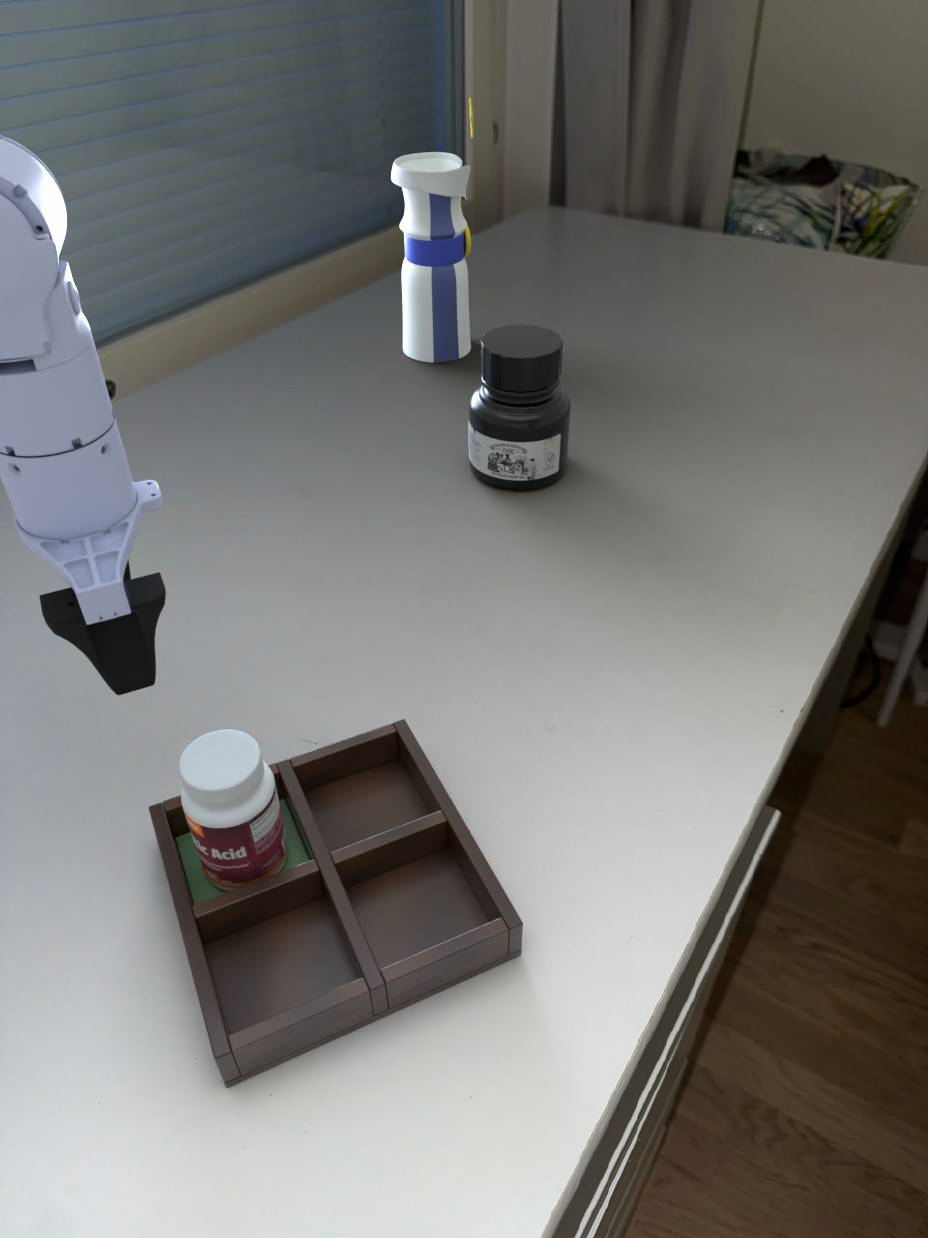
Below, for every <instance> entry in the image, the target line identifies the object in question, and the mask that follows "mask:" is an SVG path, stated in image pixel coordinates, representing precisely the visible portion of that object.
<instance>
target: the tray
mask: <svg viewBox="0 0 928 1238" xmlns="http://www.w3.org/2000/svg"><path fill="white" fill-rule="evenodd" d="M267 765H268V766H269V768H270V769H271V771H272V773H273V775H274V778H275V784H276V789H277V794H278V799H279V803H280V809H281V813H282V818H283V823H284V828H285V832H286V837H287V842H288V856H287V860H286V863H285V865H284V867H283V868H282V870H281V871H280V872H279V873H277V874H274V875H271V876H269V877H266V878H264V879H261V880H258V881H256V882H253V883H251V884H248V885H245V886H243V887H240V888H238V889H235V890H232V891H230V892H228V891H225V890H222V889H220V888H218V887H216V886H214V885H213V884H212V883H211V882H210V881H209V880H208V879H207V877H206V876H205V874H204V871H203V869H202V866H201V863H200V860H199V857H198V854H197V851H196V847H195V845H194V842H193V839H192V835H191V832H190V828H189V826H188V823H187V820H186V816H185V813H184V810H183V807H182V802H181V794H180V795H177V796H175V797H171V798H169V799H165V800H163V801H161V802H157V803H155V804H152V805H149V806H148V812H149V814H150V819H151V823H152V827H153V831H154V834H155V838H156V843H157V846H158V849H159V853H160V854H159V855H160V857H161V860H162V861H161V862H162V866H163V868H164V869H163V870H164V873H165V876H166V881H167V883H168V884H167V885H168V888H169V893H170V896H171V900H172V904H173V907H174V911H175V915H176V920H177V922H178V923H177V924H178V927H179V931H180V934H181V938H182V942H183V946H184V949H185V953H186V957H187V961H188V965H189V968H190V972H191V976H192V980H193V984H194V988H195V992H196V996H197V999H198V1003H199V1007H200V1010H201V1011H200V1012H201V1014H202V1018H203V1021H204V1026H205V1031H206V1034H207V1037H208V1041H209V1045H210V1048H211V1053H212V1057H213V1059H214V1062H215V1065H216V1067H217V1069H218V1072H219V1074H220V1077H221V1080H222V1081H223V1084H224V1087H225V1088H227V1089H228V1088H231V1087H232V1086H234V1085H237V1084H238V1083H241V1082H243V1081H245V1080H248V1079H250V1078H253V1077H255V1076H256V1075H259V1074H261V1073H264V1072H265V1071H267V1070H270V1069H272V1068H274V1067H277V1066H279V1065H280V1064H284V1063H285V1062H287V1061H289V1060H290V1061H291V1060H292V1059H294V1058H296V1057H299V1056H300V1055H302V1054H305V1053H307V1052H310V1051H312V1050H314V1049H316V1048H318V1047H320V1046H322V1045H325V1044H327V1043H329V1042H332V1041H334V1040H336V1039H338V1038H340V1037H343V1036H345V1035H347V1034H350V1033H351V1032H354V1031H356V1030H358V1029H360V1028H362V1027H364V1026H367V1025H369V1024H371V1023H373V1022H376V1021H378V1020H380V1019H382V1018H385V1017H387V1016H389V1015H391V1014H393V1013H396V1012H398V1011H400V1010H403V1009H404V1008H407V1007H409V1006H411V1005H414V1004H416V1003H418V1002H420V1001H422V1000H425V999H426V998H429V997H431V996H434V995H436V994H437V993H439V992H440V993H441V992H442V991H444V990H446V989H448V988H451V987H453V986H456V985H457V984H459V983H463V982H464V981H466V980H468V979H470V978H473V977H475V976H477V975H480V974H482V973H484V972H487V971H488V970H490V969H491V970H492V969H493V968H495V967H497V966H499V965H502V964H504V963H506V962H509V961H510V960H513V959H515V958H517V957H519V956H522V953H523V950H522V947H523V946H522V945H523V930H524V922H523V920H522V918H521V917H520V914H519V913H518V912H517V910H516V908H515V907H514V904H513V903H512V901H511V900H510V897H509V896H508V894H507V893H506V891H505V889H504V888H503V886H502V884H501V882H500V880H499V879H498V877H497V876H496V874H495V872H494V869H492V867H491V865H490V864H489V862H488V860H487V859H486V856H485V854H484V852H482V850H481V848H480V846H479V844H478V843H477V841H476V839H475V838H474V836H473V834H472V833H471V831H470V829H469V827H468V826H467V824H466V822H465V821H464V819H463V817H462V815H461V813H460V812H459V809H457V807H456V805H455V803H454V801H453V800H452V798H451V797H450V794H449V793H448V791H447V789H446V787H445V786H444V784H443V783H442V781H441V779H440V778H439V776H438V774H437V772H436V771H435V768H434V767H433V766H432V764H431V762H430V760H429V758H428V757H427V755H426V753H425V752H424V750H423V749H422V747H421V745H420V743H419V742H418V740H417V738H416V736H415V734H414V733H413V731H412V728H411V727H410V726H409V724H408V723H407V721H406V719H405V718H402V719H399V720H396V721H393V722H390V723H387V724H384V725H382V726H379V727H375V728H373V729H370V730H367V731H364V732H361V733H359V734H356V735H353V736H350V737H346V738H343V739H340V740H338V741H335V742H332V743H330V744H327V745H323V746H321V747H318V748H315V749H312V750H308V751H306V752H302V753H300V754H298V755H294V756H292V757H289V758H286V759H285V758H284V759H282V760H279V761H276V762H273V763H270V764H267Z"/></svg>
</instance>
